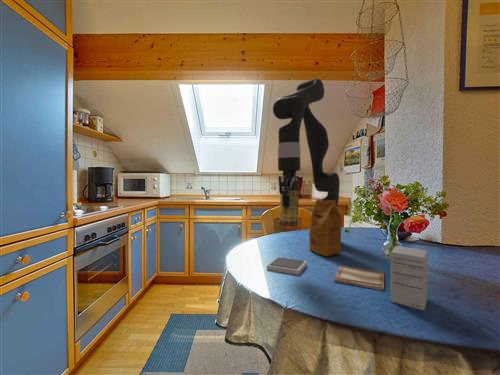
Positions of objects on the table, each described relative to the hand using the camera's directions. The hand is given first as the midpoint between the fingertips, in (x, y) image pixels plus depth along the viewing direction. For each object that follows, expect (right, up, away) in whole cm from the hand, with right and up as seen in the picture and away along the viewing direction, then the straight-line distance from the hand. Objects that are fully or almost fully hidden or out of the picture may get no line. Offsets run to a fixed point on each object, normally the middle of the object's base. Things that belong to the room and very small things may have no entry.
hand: (289, 205), depth 87 cm
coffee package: (+17, -21, +19) cm, 33 cm away
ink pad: (-1, -21, +1) cm, 21 cm away
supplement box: (+26, -22, -23) cm, 42 cm away
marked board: (+20, -22, -9) cm, 31 cm away
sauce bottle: (0, -7, 0) cm, 7 cm away
